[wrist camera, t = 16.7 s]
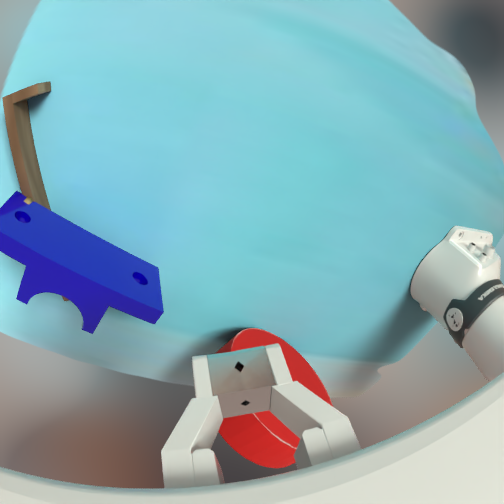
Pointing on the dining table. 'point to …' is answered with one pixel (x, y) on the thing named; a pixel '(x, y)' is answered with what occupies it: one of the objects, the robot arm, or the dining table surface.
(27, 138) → the handle
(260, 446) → the red hockey puck
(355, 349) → the dining table surface
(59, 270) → the mounting bracket
